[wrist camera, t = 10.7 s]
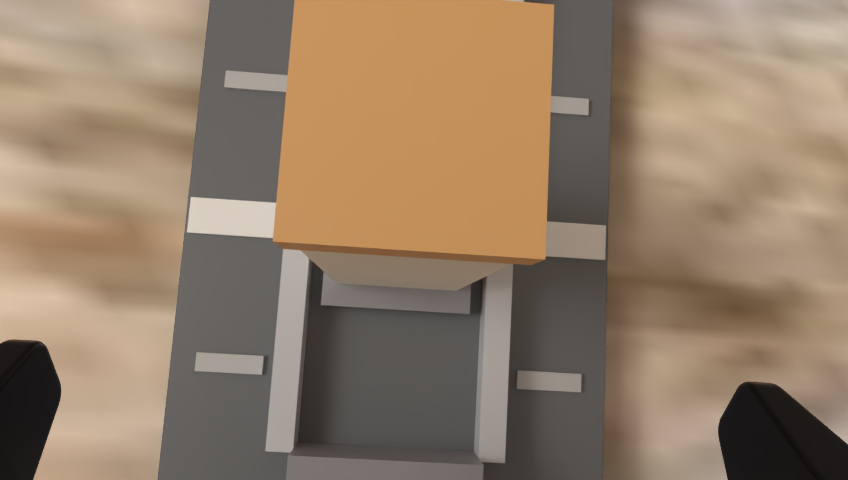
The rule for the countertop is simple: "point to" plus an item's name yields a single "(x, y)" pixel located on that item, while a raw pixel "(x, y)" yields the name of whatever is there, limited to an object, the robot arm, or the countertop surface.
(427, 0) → the fader
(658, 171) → the countertop surface
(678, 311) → the countertop surface
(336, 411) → the grey slider track
